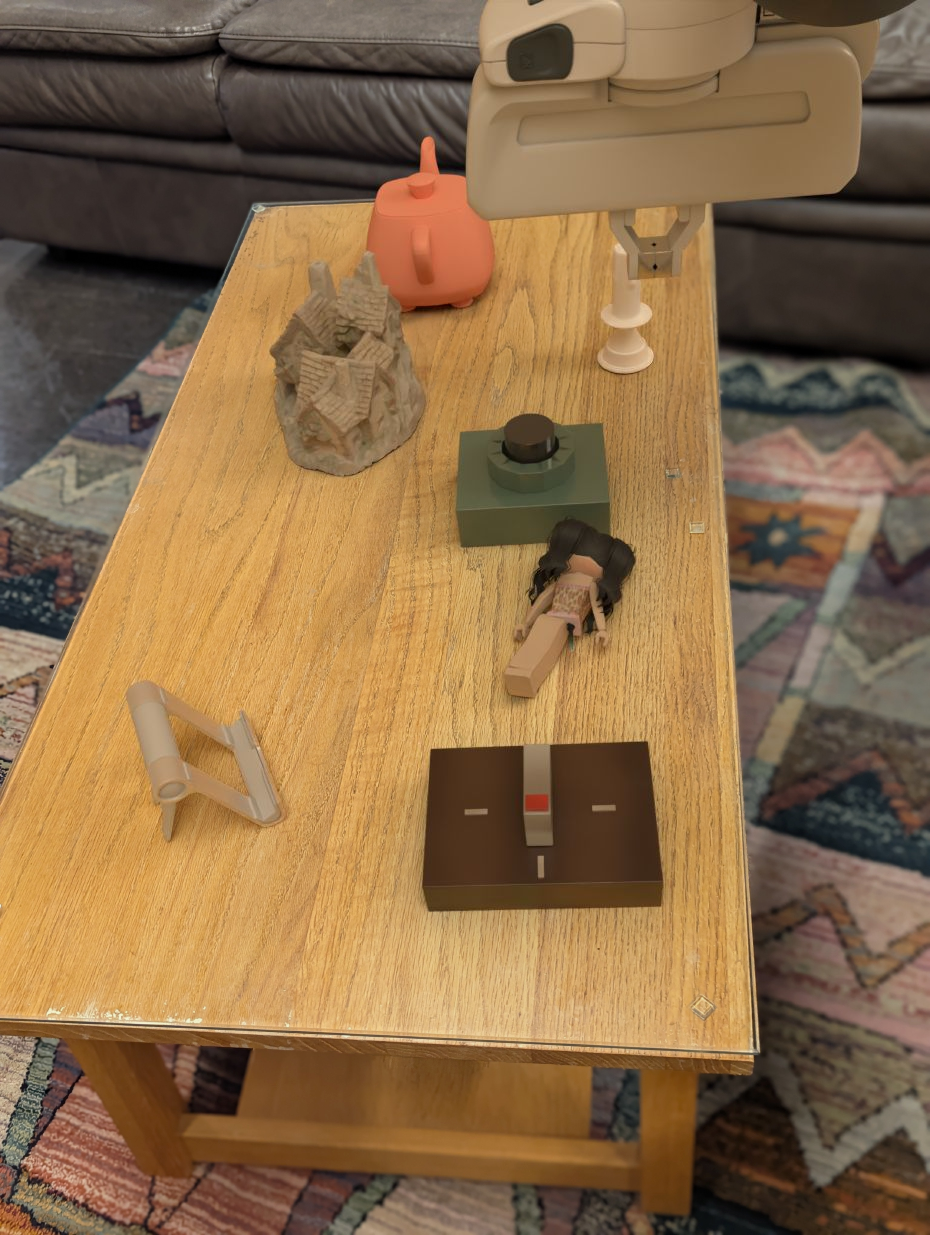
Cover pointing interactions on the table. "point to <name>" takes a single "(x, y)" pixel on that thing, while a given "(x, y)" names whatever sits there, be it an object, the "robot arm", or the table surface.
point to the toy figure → (568, 599)
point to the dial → (537, 795)
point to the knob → (529, 438)
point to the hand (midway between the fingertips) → (653, 273)
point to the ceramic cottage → (345, 373)
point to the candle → (625, 322)
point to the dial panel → (582, 830)
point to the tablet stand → (182, 779)
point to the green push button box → (530, 487)
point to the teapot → (430, 238)
